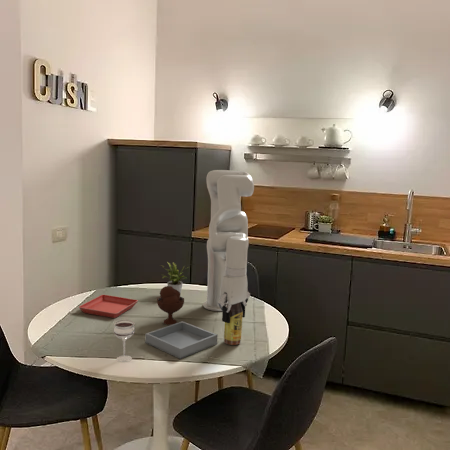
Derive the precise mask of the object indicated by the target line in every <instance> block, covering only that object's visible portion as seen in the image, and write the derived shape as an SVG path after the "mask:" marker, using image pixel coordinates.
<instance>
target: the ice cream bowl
mask: <svg viewBox="0 0 450 450" xmlns="http://www.w3.org/2000/svg"><path fill="white" fill-rule="evenodd" d="M159 295H160V296H159V297H157V298H156V303H157V306H158V308H159V309H160V310H161V311H162V312H164V313H166V314H167V315H168V316H167V318H165V319H164V320H163V323H162V324H165V325H166V326H170V325H173V324H176V323H178V321H177V320H176V319H175V318H173V315H174V314H175V313H176V312H178V311H180V310H181V309H183V306H184V304H185V298H184V297H182V296H181V294H180V292H179V291H177V290H176V289H174V288H173V287H171V286H168V285H166V286H164V287H162V288H161V290H160V291H159Z"/></svg>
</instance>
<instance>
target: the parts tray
mask: <svg viewBox="0 0 450 450" xmlns="http://www.w3.org/2000/svg"><path fill="white" fill-rule="evenodd" d="M144 335H145V338H144V339H145V340H144V343H145V344H147V345H149V346H151V347H153V348H155V349H158V350H159V351H162V352H165V353H166V354H169V355H171V356H172V357H175V358H177V359H179V360H182V359H184V358H186V357H189V356H191V355H194V354H196V353H198V352H201V351H203V350H206V349H208V348H211V347H212V346H215V345H218V334H216V333H214V332H211V331H210V330H209V331H208V330H206V329H205V328H202V327H200V326H199V327H198V326H197V325H193V324H191V323H187V322H186V321H178V322H177V323H176V324H173V325H166V326H165V327H161V328H157V329H155V330H151V331H150V332H146V333H145V334H144Z"/></svg>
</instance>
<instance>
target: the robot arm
mask: <svg viewBox="0 0 450 450" xmlns="http://www.w3.org/2000/svg"><path fill="white" fill-rule="evenodd" d="M205 182H206V188H207V190H208V194H209V197H210V222H209V227H208V237H209V238H208V239H207V241H206V253H207V283H206V284H207V287H206V288H207V289H206V291H207V292H206V300H205V301H204V302H203V303H202V304H203V305H202V306H203V308H204V309H206V310H208V311H214V312H222V316H221V320H222V322H223V323H225V322H226V323H230V312H229V311H230V308H231V306H232V305H234V304H237V303H239V302H240V303H241V307H242V310H243V318H245V317H246V307H247V305H248V304H247V303H248V301H249V298H250V296H251V292H249V290H248V276H247V271H248V270H247V266H248V265H247V264H248V251H249V250H248V249H249V244H250V242H249V241H250V240H249V237H248V236H249V234H248V232H249V225H248V224H249V220H248V216H247V214H246V213H245V211H242V202H241V197H252V195H253V194H254V191H255V183H254V180H253V177H252V176H251V175H250V173H248V172H247V171H245V170H232V169H231V170H227V169H213V170H210V171H208V173H207V175H206V181H205ZM227 305H228V307H227V308H226V306H227ZM243 318H242V319H243Z"/></svg>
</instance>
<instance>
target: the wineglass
mask: <svg viewBox="0 0 450 450" xmlns="http://www.w3.org/2000/svg"><path fill="white" fill-rule="evenodd" d="M113 325H114V328H113V334H114V336H115V337H117V339H119V340H121V341H122V347H123V350H122V351H123V353H122V355H120V356H117V357H116V361H117V362H121V363H126V362H130V361H131V360H132V359H133V357H132V356H130V355H128V354H127V355H125V354H126V341H127V340H128V339H131V337H132V336H134V335H135V330H136V328H135V325H136V323H135V322H134V321H133V320H129V319H121V320H116V321H115V322H114V324H113Z"/></svg>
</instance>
